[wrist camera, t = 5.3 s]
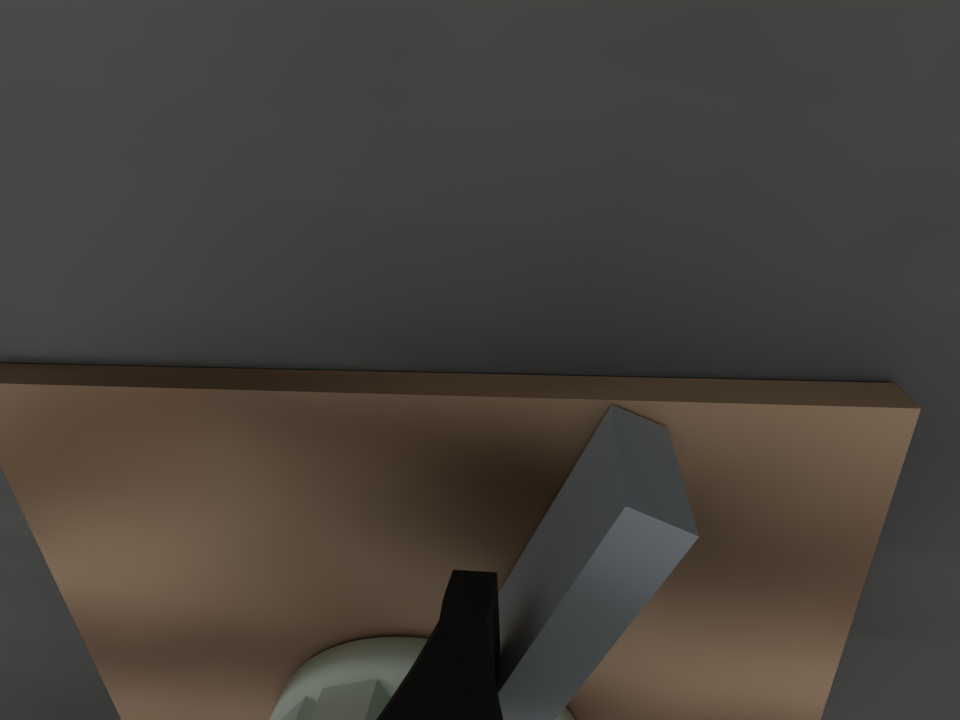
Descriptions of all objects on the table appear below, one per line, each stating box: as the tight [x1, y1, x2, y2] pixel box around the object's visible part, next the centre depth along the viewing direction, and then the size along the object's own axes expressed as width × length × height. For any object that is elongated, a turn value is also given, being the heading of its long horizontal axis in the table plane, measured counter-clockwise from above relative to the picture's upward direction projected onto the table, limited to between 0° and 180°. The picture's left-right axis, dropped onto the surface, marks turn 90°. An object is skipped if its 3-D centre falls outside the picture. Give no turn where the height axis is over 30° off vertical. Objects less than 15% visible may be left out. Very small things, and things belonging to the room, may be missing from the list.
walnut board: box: [0, 363, 921, 720], centre depth 16 cm, size 18×20×1 cm
